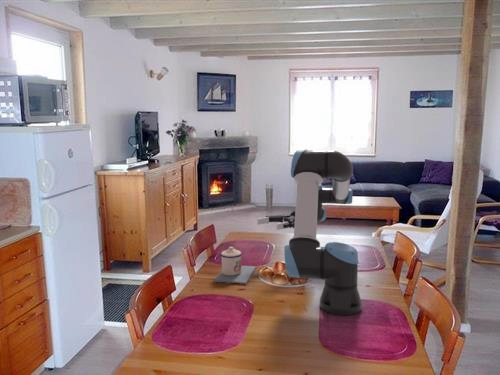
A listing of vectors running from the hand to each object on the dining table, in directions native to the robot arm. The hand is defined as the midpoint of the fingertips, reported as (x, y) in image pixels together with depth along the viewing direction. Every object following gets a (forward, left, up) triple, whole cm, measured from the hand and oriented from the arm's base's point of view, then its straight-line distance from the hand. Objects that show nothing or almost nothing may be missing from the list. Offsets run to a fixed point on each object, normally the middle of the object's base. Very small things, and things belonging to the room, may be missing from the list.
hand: (267, 224), depth 200 cm
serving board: (-12, +12, -21) cm, 27 cm away
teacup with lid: (-10, +14, -20) cm, 26 cm away
